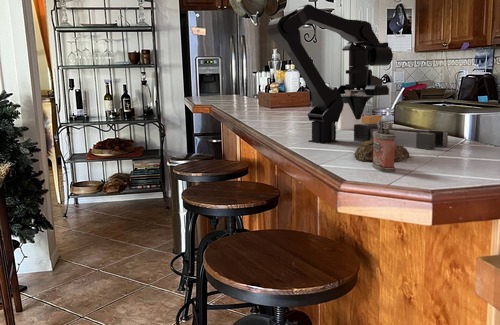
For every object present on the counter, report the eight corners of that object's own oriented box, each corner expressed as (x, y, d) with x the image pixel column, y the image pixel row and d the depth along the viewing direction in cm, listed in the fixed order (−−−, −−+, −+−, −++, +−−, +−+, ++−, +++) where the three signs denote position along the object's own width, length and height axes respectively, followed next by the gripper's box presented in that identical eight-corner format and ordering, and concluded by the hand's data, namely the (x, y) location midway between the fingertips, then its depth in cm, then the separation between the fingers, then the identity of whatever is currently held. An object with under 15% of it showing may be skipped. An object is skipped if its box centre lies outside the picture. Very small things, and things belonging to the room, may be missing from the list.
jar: (348, 130, 168) (349, 96, 165) (332, 129, 174) (332, 95, 172) (367, 128, 172) (367, 94, 170) (350, 127, 179) (350, 94, 177)
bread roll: (361, 153, 121) (361, 134, 121) (412, 156, 116) (412, 136, 115) (346, 162, 110) (346, 141, 109) (401, 166, 105) (402, 143, 104)
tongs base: (426, 151, 120) (427, 131, 119) (353, 141, 141) (354, 124, 140) (449, 147, 125) (450, 128, 124) (375, 138, 146) (375, 122, 145)
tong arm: (442, 147, 123) (443, 131, 122) (381, 141, 138) (381, 126, 137) (447, 146, 125) (447, 130, 124) (385, 140, 139) (386, 125, 139)
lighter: (369, 165, 104) (369, 119, 102) (384, 164, 105) (385, 118, 103) (382, 172, 96) (383, 123, 95) (398, 172, 97) (400, 122, 95)
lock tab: (369, 123, 138) (369, 116, 137) (361, 123, 140) (361, 116, 140) (381, 122, 140) (381, 115, 140) (373, 121, 143) (373, 115, 143)
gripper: (402, 64, 139) (401, 119, 141) (355, 66, 154) (354, 115, 157) (375, 65, 133) (374, 122, 135) (329, 67, 148) (329, 118, 151)
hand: (358, 119), depth 145 cm, fingers closed
